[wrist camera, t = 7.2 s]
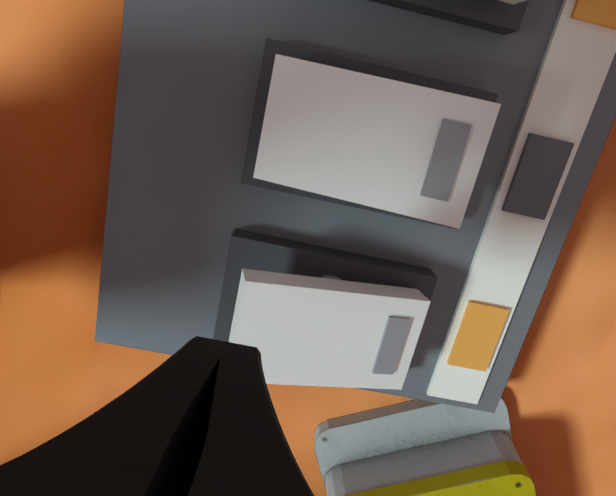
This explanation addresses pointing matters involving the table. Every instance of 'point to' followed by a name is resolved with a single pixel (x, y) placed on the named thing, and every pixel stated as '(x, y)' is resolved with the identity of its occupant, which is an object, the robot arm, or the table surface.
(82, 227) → the table surface
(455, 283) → the panel
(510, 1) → the rocker
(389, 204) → the rocker
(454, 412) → the emergency button
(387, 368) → the rocker
